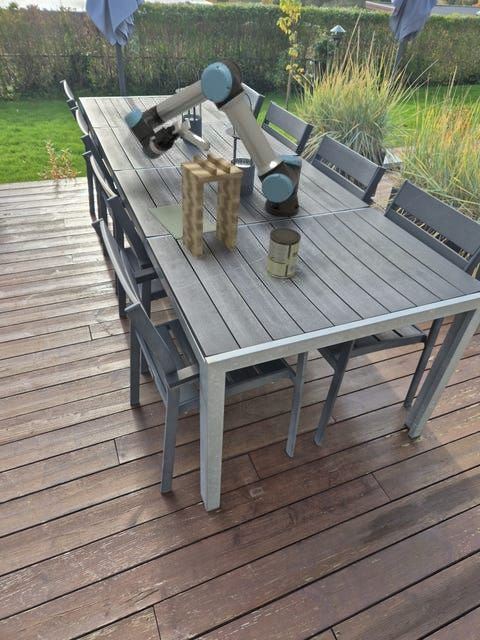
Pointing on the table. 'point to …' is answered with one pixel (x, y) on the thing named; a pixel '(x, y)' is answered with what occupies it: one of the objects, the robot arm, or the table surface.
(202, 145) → the steel rod
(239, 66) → the robot arm
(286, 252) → the coffee can
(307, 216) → the table surface
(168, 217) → the sage mat
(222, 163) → the oak bridge
